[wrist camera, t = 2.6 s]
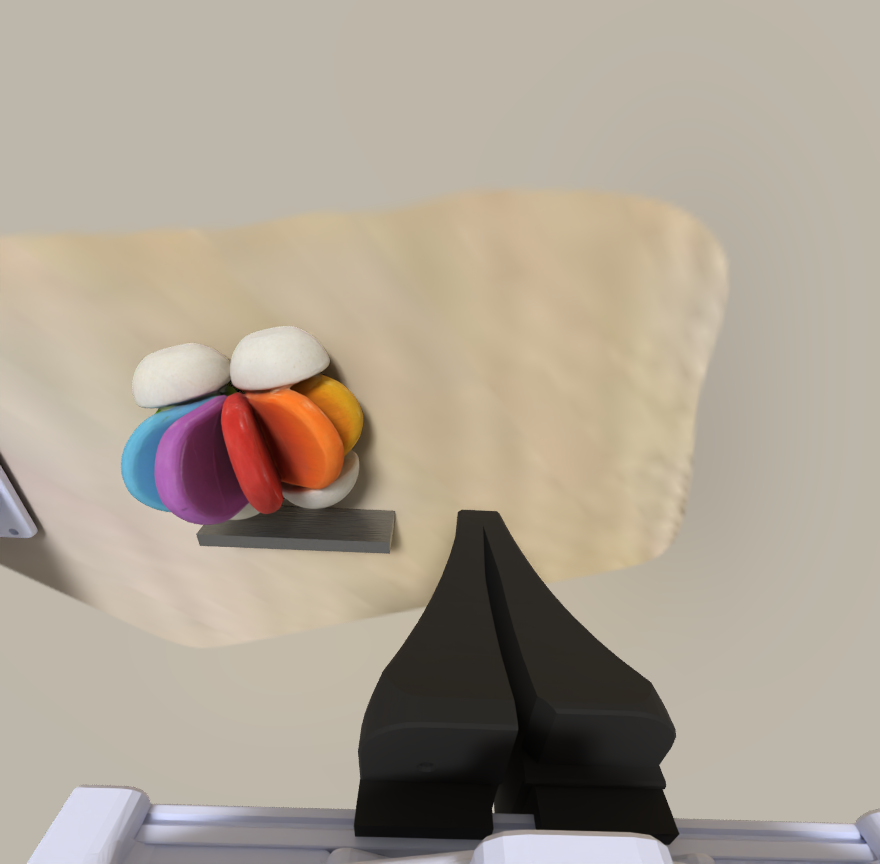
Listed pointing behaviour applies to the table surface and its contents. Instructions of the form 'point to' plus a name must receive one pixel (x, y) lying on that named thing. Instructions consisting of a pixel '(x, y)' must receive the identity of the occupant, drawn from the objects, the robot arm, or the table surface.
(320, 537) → the rail
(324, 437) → the rainbow disc baby rattle
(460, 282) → the table surface
